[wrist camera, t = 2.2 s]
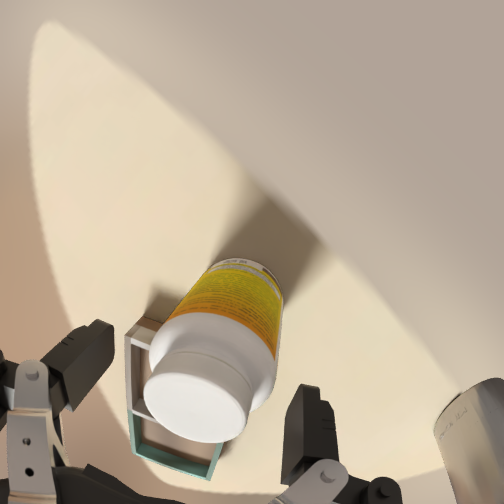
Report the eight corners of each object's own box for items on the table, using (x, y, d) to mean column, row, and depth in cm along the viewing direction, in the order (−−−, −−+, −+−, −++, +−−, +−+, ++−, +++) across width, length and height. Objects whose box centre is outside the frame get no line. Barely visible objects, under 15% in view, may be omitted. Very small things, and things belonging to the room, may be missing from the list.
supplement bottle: (197, 252, 18) (108, 338, 9) (286, 257, 18) (276, 363, 8) (201, 328, 20) (140, 438, 10) (281, 336, 19) (266, 462, 10)
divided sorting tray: (252, 351, 20) (246, 376, 17) (215, 461, 25) (209, 481, 22) (142, 316, 20) (124, 335, 18) (141, 435, 25) (131, 453, 23)
